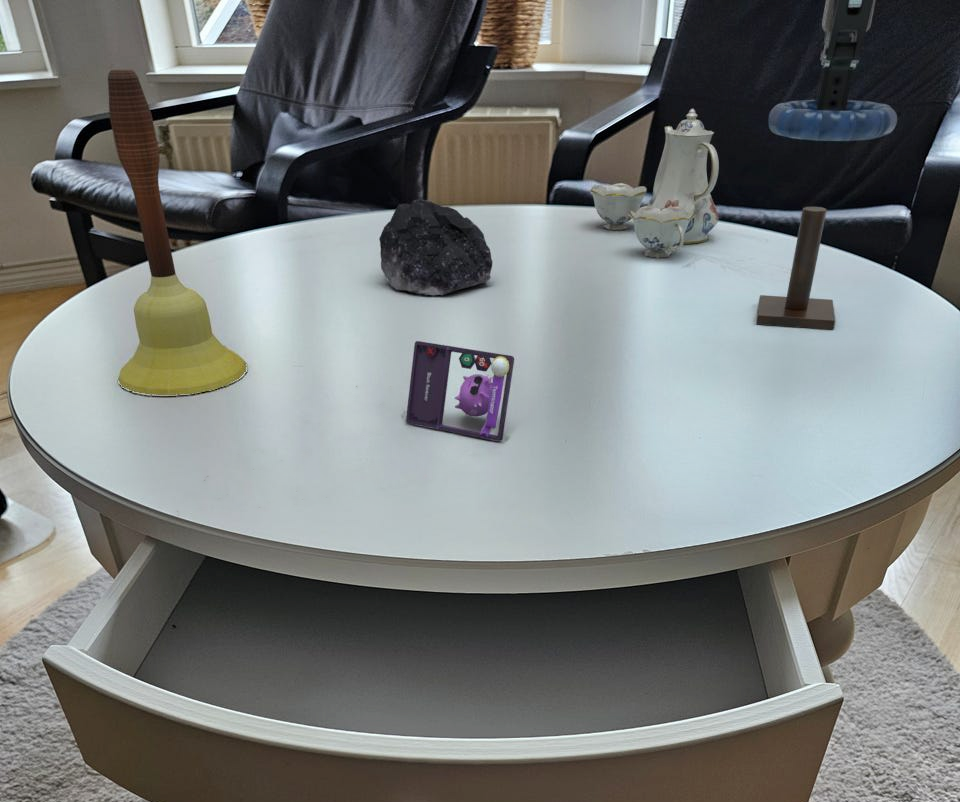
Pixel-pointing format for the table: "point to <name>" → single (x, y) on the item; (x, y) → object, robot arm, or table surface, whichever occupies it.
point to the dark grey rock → (433, 250)
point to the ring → (832, 121)
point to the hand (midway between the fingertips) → (828, 119)
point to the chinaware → (668, 194)
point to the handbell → (162, 271)
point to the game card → (474, 391)
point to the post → (801, 283)
